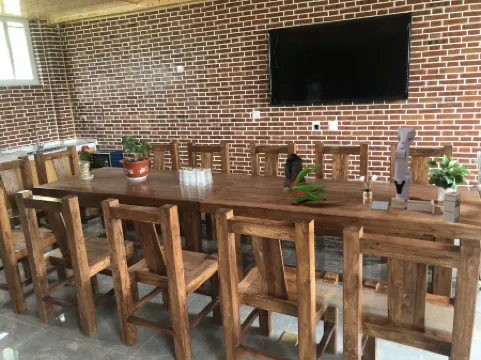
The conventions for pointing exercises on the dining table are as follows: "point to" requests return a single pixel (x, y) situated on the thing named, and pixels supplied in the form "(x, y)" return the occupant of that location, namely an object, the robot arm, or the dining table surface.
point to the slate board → (379, 205)
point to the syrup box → (451, 206)
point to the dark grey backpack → (293, 170)
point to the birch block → (397, 203)
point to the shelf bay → (421, 206)
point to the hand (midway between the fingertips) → (399, 193)
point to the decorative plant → (305, 187)
